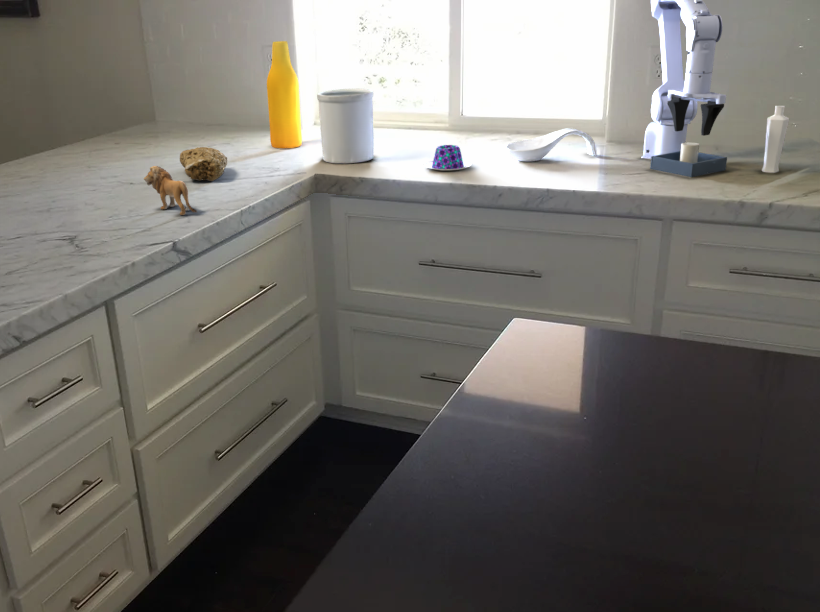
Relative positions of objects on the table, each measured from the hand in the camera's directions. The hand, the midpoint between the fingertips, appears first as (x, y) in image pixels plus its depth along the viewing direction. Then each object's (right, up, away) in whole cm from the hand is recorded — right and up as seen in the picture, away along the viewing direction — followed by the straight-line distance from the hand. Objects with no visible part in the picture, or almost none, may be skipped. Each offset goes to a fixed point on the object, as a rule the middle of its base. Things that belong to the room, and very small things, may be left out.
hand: (691, 132), depth 202 cm
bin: (0, -8, +4) cm, 9 cm away
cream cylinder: (0, -8, +3) cm, 8 cm away
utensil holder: (-81, +1, +32) cm, 87 cm away
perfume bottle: (+18, -10, -1) cm, 20 cm away
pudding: (-55, -5, +17) cm, 58 cm away
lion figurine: (-118, -21, -15) cm, 121 cm away
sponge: (-117, -6, +19) cm, 119 cm away
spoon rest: (-28, -1, +23) cm, 36 cm away
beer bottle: (-99, +9, +53) cm, 112 cm away
